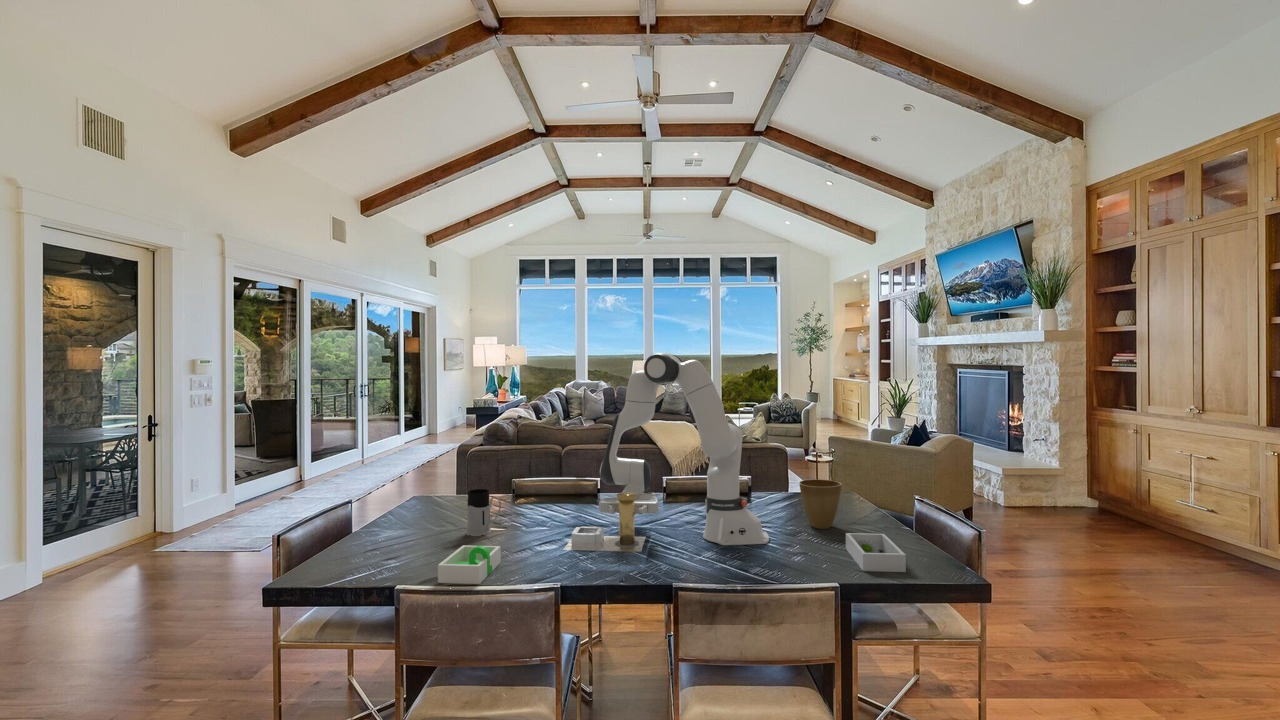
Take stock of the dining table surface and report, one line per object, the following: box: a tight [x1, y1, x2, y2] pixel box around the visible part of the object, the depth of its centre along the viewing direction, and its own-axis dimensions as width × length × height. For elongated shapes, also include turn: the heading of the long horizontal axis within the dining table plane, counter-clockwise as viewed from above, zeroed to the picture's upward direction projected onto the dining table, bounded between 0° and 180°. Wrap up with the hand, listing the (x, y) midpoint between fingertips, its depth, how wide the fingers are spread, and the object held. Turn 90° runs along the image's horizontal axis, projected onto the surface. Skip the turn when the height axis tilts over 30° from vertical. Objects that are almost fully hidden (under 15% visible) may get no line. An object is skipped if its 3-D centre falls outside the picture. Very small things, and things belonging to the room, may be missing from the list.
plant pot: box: [798, 478, 842, 530], centre depth 224 cm, size 15×15×16 cm
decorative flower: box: [856, 539, 881, 553], centre depth 185 cm, size 8×6×15 cm
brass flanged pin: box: [616, 492, 636, 545], centre depth 200 cm, size 6×6×16 cm
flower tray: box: [845, 532, 907, 573], centre depth 186 cm, size 12×21×5 cm, turn 174°
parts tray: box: [437, 544, 502, 585], centre depth 179 cm, size 12×18×5 cm, turn 174°
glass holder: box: [466, 488, 502, 537], centre depth 218 cm, size 9×14×15 cm, turn 64°
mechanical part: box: [456, 545, 493, 576], centre depth 179 cm, size 12×6×8 cm, turn 87°
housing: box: [563, 525, 647, 553], centre depth 201 cm, size 25×16×6 cm, turn 84°
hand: (626, 511), depth 199 cm, fingers open, 8 cm apart
